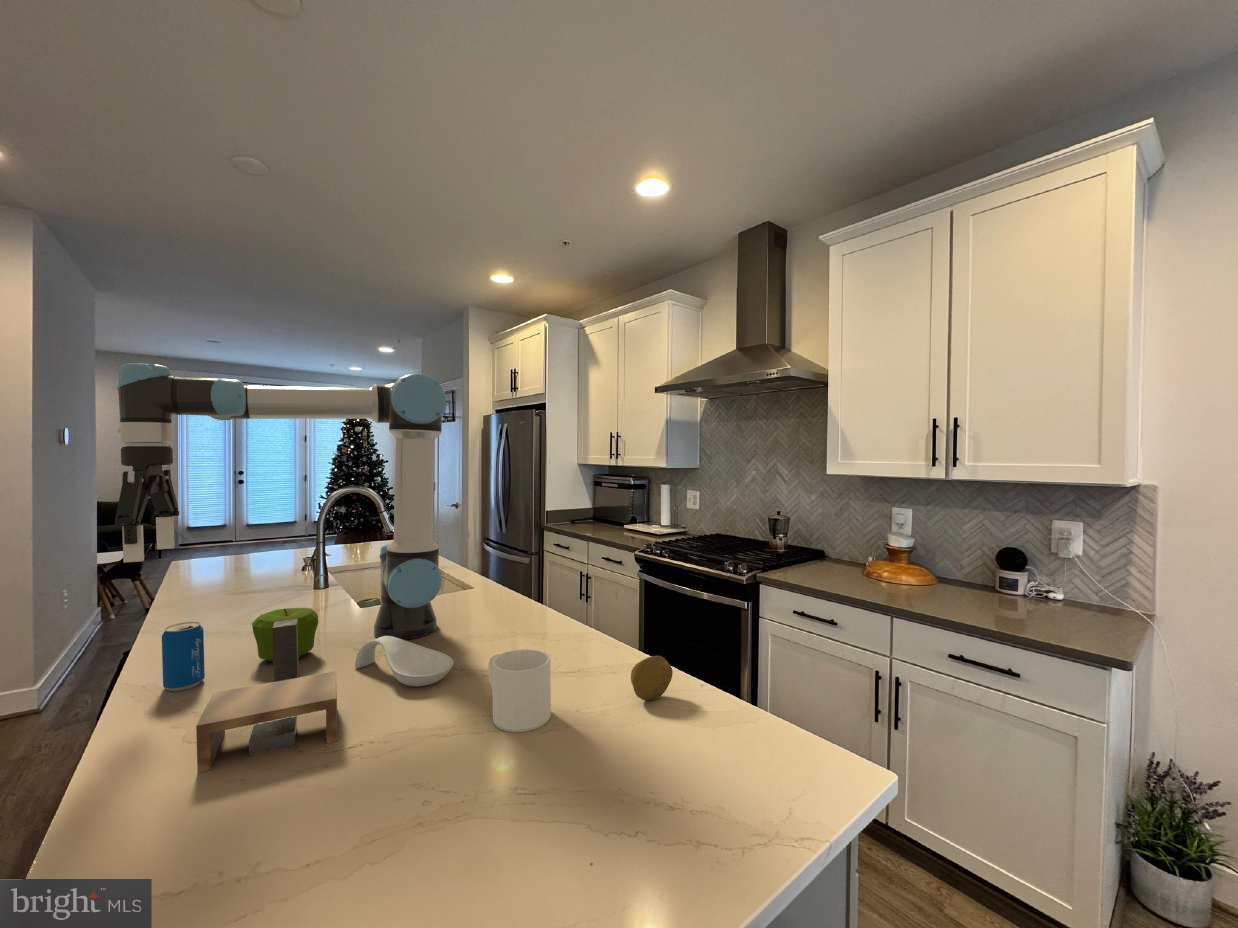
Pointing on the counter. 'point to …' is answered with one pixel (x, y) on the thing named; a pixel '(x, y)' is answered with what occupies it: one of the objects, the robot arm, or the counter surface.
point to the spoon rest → (407, 660)
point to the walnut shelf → (264, 709)
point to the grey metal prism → (285, 650)
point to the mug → (520, 689)
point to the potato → (651, 677)
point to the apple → (303, 615)
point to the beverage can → (183, 656)
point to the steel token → (273, 735)
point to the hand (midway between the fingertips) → (150, 554)
